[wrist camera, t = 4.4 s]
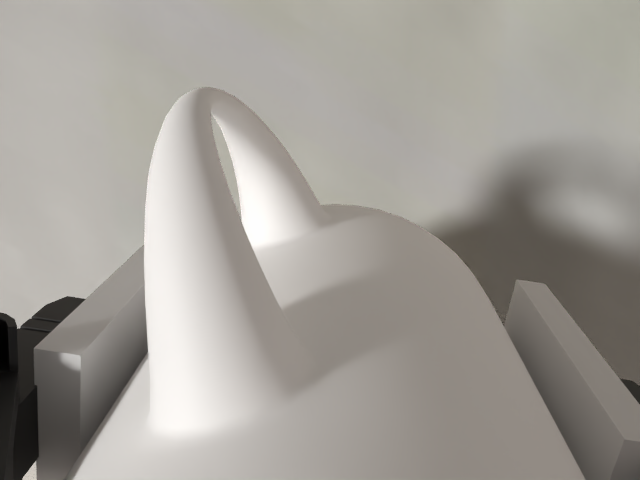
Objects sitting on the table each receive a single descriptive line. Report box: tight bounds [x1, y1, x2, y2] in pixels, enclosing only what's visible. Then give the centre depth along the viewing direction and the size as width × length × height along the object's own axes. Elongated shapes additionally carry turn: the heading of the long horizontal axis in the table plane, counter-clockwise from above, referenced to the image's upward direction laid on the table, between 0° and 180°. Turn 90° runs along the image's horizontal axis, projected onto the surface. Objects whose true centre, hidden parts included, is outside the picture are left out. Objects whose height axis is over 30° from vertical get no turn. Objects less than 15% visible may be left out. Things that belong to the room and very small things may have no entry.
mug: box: [64, 87, 585, 480], centre depth 11 cm, size 9×12×11 cm
